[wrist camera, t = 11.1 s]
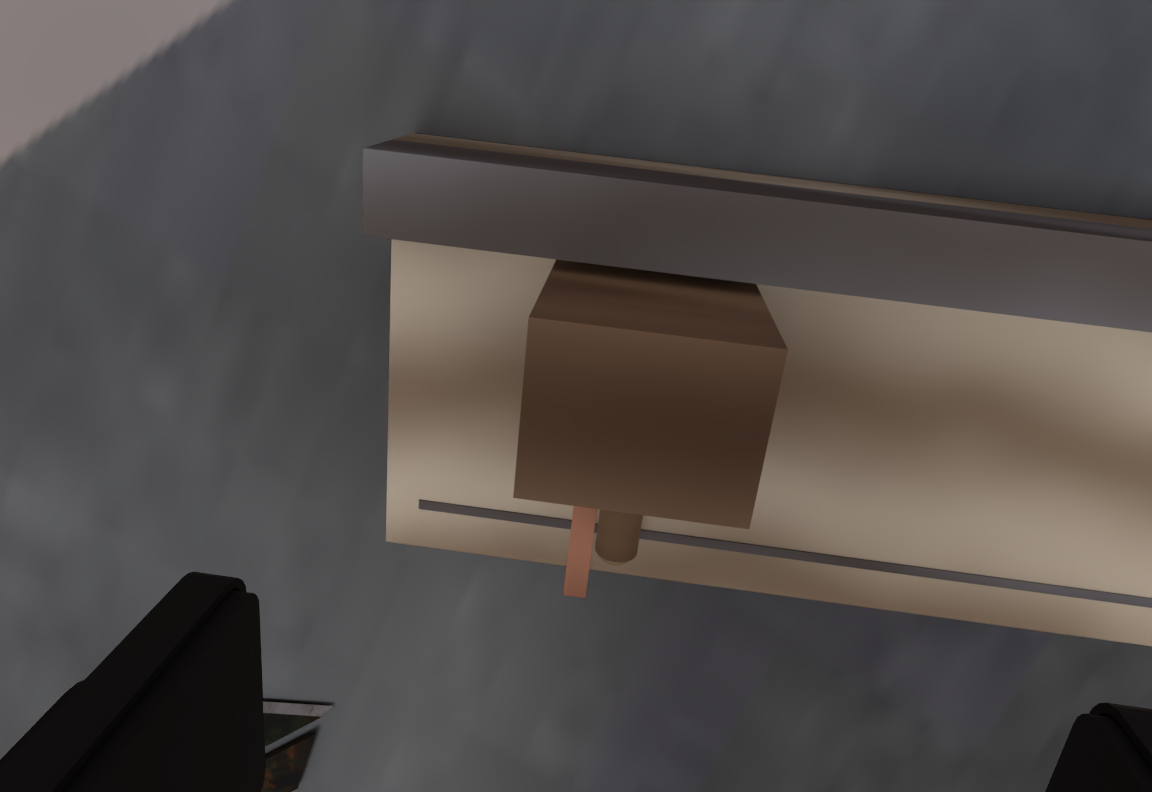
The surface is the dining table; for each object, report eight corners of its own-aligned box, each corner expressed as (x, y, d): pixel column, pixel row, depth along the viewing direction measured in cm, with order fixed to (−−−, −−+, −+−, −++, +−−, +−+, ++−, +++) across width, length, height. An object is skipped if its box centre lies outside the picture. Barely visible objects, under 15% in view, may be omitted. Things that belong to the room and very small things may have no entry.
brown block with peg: (697, 562, 25) (710, 707, 19) (531, 539, 25) (497, 677, 19) (751, 275, 21) (788, 349, 16) (559, 251, 21) (528, 317, 16)
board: (1252, 650, 27) (1361, 756, 23) (402, 534, 28) (360, 615, 24) (1457, 256, 22) (1644, 300, 18) (414, 133, 23) (362, 148, 19)
